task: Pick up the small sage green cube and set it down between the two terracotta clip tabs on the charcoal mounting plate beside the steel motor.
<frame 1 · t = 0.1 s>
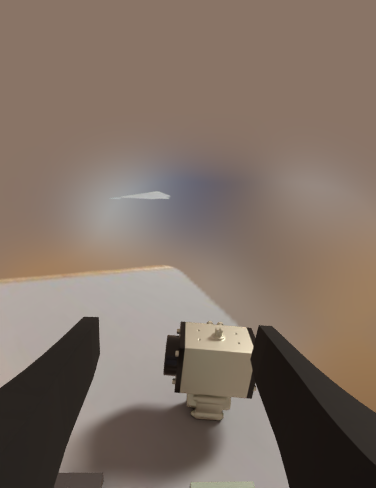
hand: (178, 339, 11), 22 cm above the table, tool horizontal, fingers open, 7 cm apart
pneumatic valve: (206, 406, 32), on the table
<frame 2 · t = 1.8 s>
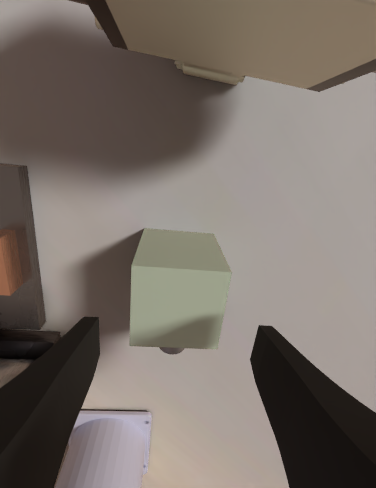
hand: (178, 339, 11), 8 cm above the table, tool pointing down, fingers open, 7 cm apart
sage green cube: (176, 262, 19), on the table
pneumatic valve: (215, 38, 14), on the table
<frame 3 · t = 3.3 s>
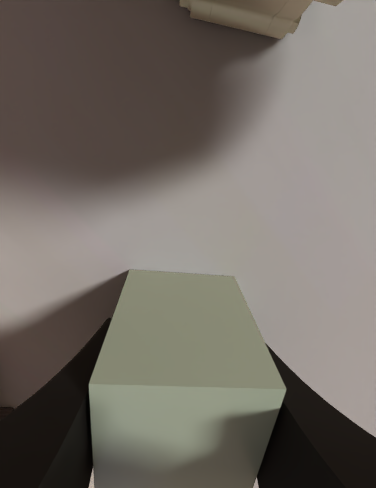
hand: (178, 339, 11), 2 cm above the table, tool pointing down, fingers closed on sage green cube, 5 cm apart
sage green cube: (178, 316, 13), on the table, touching gripper
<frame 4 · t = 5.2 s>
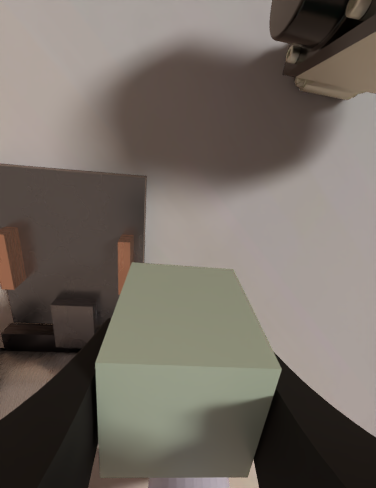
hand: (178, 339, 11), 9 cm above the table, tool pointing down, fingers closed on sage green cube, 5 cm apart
sage green cube: (178, 308, 13), point 7 cm above the table, touching gripper
motor mount: (78, 251, 19), on the table
pneumatic valve: (330, 57, 15), on the table
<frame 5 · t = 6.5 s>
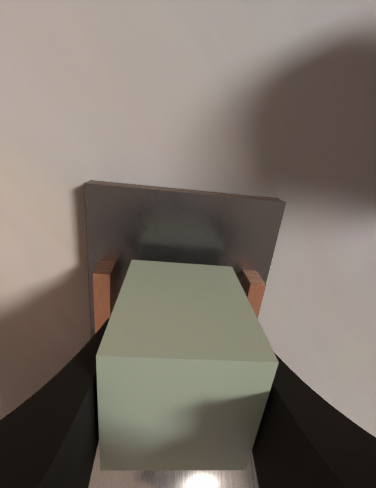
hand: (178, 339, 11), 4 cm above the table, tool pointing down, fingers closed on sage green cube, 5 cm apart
sage green cube: (178, 305, 13), point 2 cm above the table, touching gripper
motor mount: (177, 287, 15), on the table
when the fingers open (4 cm above the table, at t = 7.5 s): sage green cube stays where it is, resting on motor mount.
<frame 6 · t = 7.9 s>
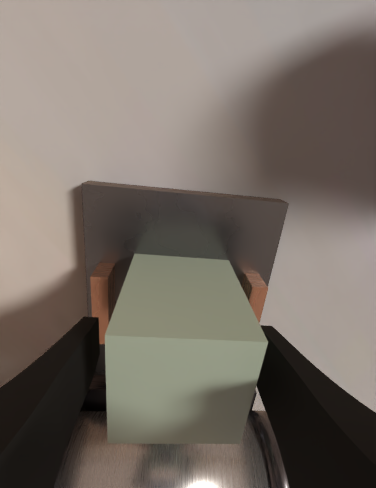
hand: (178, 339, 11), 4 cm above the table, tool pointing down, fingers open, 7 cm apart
sage green cube: (178, 297, 14), point 1 cm above the table, touching motor mount
motor mount: (177, 290, 15), on the table
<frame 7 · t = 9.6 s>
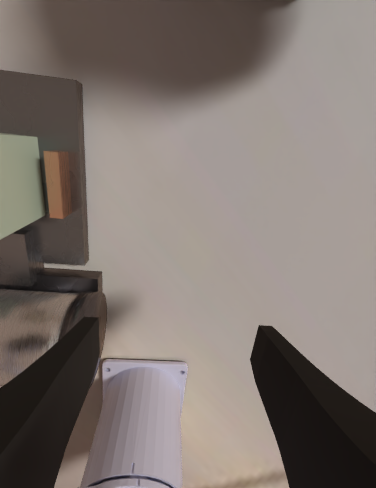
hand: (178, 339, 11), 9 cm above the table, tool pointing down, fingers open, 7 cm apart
sage green cube: (1, 174, 16), point 1 cm above the table, touching motor mount
motor mount: (10, 175, 17), on the table
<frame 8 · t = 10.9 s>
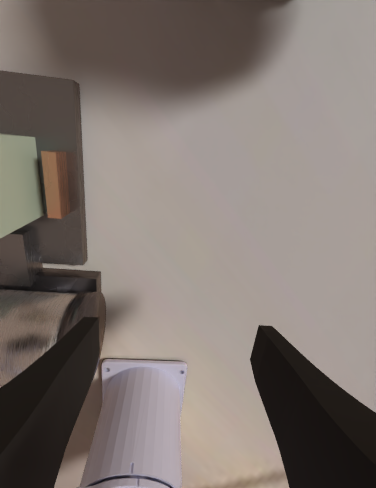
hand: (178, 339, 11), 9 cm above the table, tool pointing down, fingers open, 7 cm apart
motor mount: (9, 175, 17), on the table
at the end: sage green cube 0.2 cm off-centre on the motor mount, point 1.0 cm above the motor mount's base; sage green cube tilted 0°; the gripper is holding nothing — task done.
